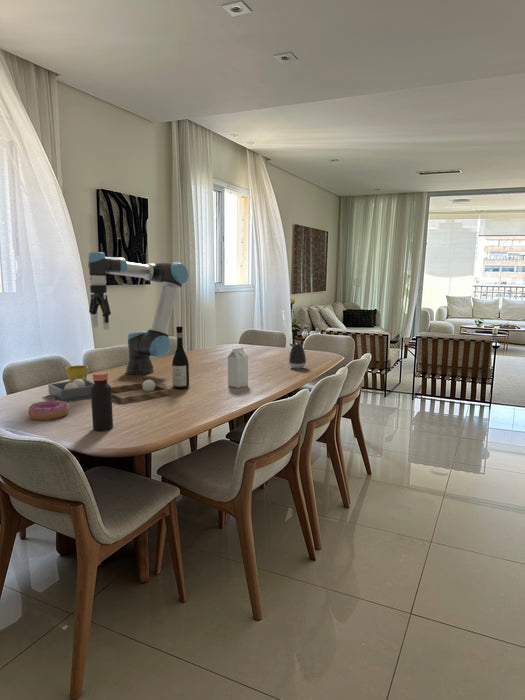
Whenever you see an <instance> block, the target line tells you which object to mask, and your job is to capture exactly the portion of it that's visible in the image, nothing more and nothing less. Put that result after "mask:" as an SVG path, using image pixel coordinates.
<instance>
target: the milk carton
mask: <svg viewBox="0 0 525 700" xmlns="http://www.w3.org/2000/svg"><path fill="white" fill-rule="evenodd" d="M231 350H232V351H231V352H230V353H229V354H228V355H227V386H228V387H232V388H237V389H239V388H243V387H244V388H245V387H248V386H249V356H248V354H247V353H246V352H245V350H244V347H237V348H232V349H231Z"/></svg>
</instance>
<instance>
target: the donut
mask: <svg viewBox="0 0 525 700" xmlns="http://www.w3.org/2000/svg"><path fill="white" fill-rule="evenodd" d="M69 410H70V409H69V404H68V403H67V401H59V400H57V399H56V400H53V399H51V400H44V401H39V402H37V403H36V402H35V403H33V404H31V405H30V406H29V407H28V416H29V418H30V419H32V420H35V421H51V420H52V421H53V420H57V419H61V418H63V417H65V416H67V415H68V413H69Z"/></svg>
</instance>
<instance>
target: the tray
mask: <svg viewBox="0 0 525 700" xmlns="http://www.w3.org/2000/svg"><path fill="white" fill-rule="evenodd" d="M142 385H143V382H139V383H130V384H125V385H119V386H111V395H112V401H115V402H117V403H119V404H128V403H133V402H138V401H143V400H144V401H146V400H150V399H155V398H160V397H166V396H171V389H170V388H166V387H164V386H160V385H158V384H155V389H154V391H152V392H144V393H139V394H133V395H132V394H131V395H128V396H121V395H119V394H116V393H119V392H121V391H122V392H127V391H126V390H128V391H132V390H133V389H134V390H139V389H143V388H142ZM134 390H133V391H134ZM122 392H121V393H122Z"/></svg>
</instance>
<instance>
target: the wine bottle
mask: <svg viewBox="0 0 525 700" xmlns="http://www.w3.org/2000/svg"><path fill="white" fill-rule="evenodd" d="M175 330H176V349H175V353H174V356H173V359H172V363H171V371H172V372H171V373H172V374H171V375H172V377H171V378H172V387H173V388H174V389H177V390H183V389H184V390H186V389H188V388H189V387H190V365H189V359H188V356H187V354H186V352H185V349H184V342H183V340H184V339H183V331H184V329H183V326H176V327H175Z"/></svg>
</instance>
